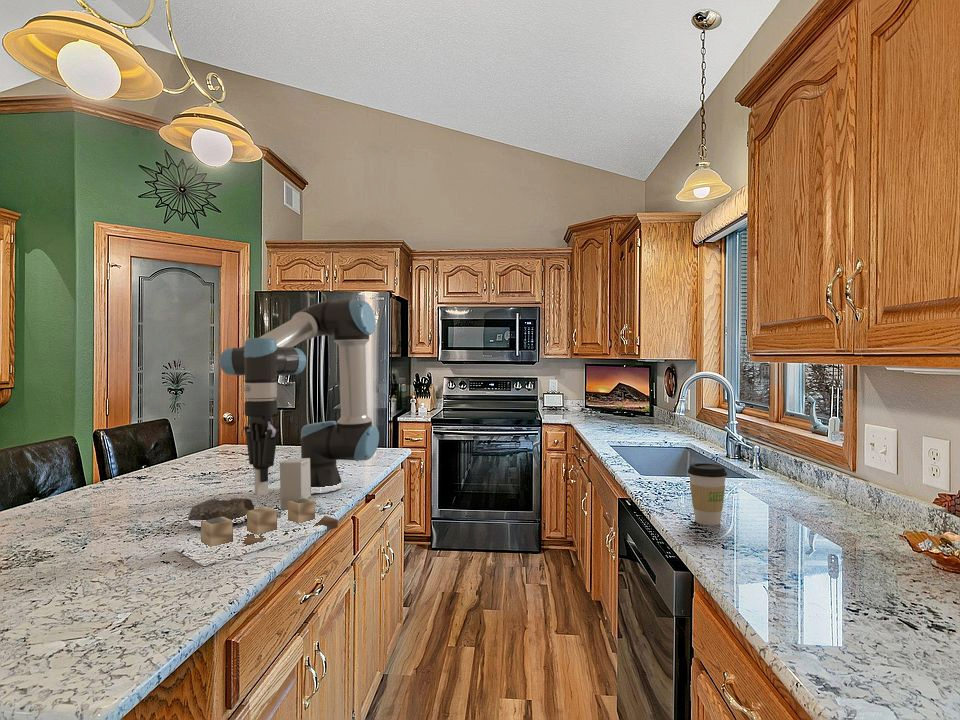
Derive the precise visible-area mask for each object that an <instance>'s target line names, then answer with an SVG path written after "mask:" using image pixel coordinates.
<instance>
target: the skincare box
mask: <svg viewBox="0 0 960 720" xmlns="http://www.w3.org/2000/svg"><path fill="white" fill-rule="evenodd" d="M279 483H280V484H279V485H280V486H279V488H280V490H279V491H280V492H279V493H280V494H279V495H280V496H279V497H280V511H281V510H288V501H292V500H296V499H301V498H308V499H312V496H311V495H312V494H311V482H310V458H301V457H300V458H289V459H286V460H282V461H281V462H279Z"/></svg>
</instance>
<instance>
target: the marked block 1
mask: <svg viewBox="0 0 960 720" xmlns="http://www.w3.org/2000/svg"><path fill="white" fill-rule="evenodd" d="M233 525H234V524H233V522H232V520H230V519H228V518H225V517H219V518H214V519H210V520H206V521H201V528H200V536H201V542H202V543H204V544H206V545H208V546H210V547H212V546H217V545H220V544H225V543H229V542H233V528H234V527H233Z"/></svg>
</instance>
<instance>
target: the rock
mask: <svg viewBox="0 0 960 720" xmlns="http://www.w3.org/2000/svg"><path fill="white" fill-rule="evenodd" d="M253 509H255V505H254V503H253V501H252V499H251V498H247V497H245V498H243V497H239V498H238V497H237V498H230V500H226V499H221V500H220V499H217V498H211V499H208V500H204V501H203V502H201V503H198V504H196V505H194V506H192V507H191V509H190V511H189V514H188V516H187V521H188V520H210V519H214V518H219V517H225V518H228V519H230V520H233V519H236V518H240V517H243V516H245V515H246V514H247V511H249V510H253Z"/></svg>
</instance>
